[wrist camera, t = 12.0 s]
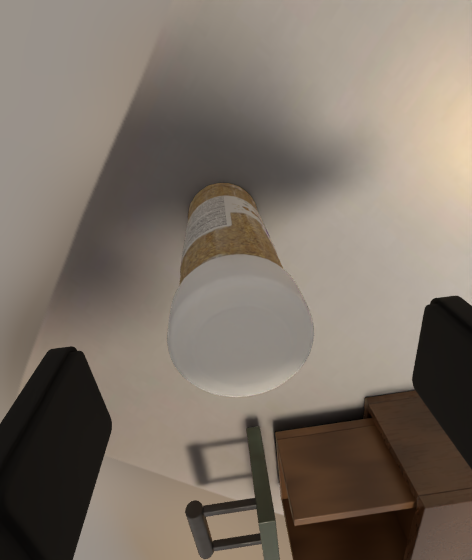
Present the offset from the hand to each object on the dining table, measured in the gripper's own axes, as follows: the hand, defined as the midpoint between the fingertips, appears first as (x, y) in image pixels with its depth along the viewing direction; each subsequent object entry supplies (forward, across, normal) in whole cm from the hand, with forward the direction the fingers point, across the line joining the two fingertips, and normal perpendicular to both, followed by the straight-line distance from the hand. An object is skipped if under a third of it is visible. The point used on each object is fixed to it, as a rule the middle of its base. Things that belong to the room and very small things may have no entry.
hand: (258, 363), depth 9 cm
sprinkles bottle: (+14, +1, 0) cm, 14 cm away
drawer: (+13, -3, +25) cm, 28 cm away
